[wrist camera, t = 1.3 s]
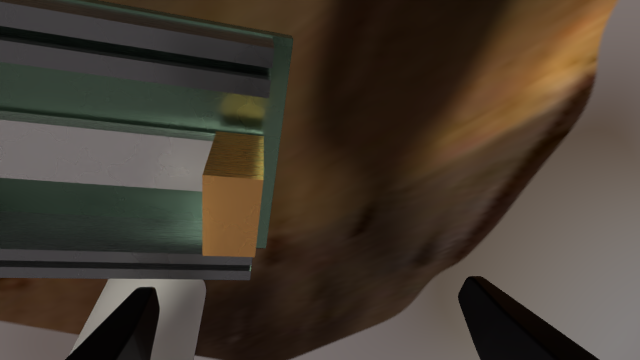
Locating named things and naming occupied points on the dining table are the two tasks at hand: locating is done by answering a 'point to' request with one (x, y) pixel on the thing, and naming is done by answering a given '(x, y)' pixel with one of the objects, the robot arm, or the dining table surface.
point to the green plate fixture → (135, 109)
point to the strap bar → (146, 167)
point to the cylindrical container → (174, 319)
